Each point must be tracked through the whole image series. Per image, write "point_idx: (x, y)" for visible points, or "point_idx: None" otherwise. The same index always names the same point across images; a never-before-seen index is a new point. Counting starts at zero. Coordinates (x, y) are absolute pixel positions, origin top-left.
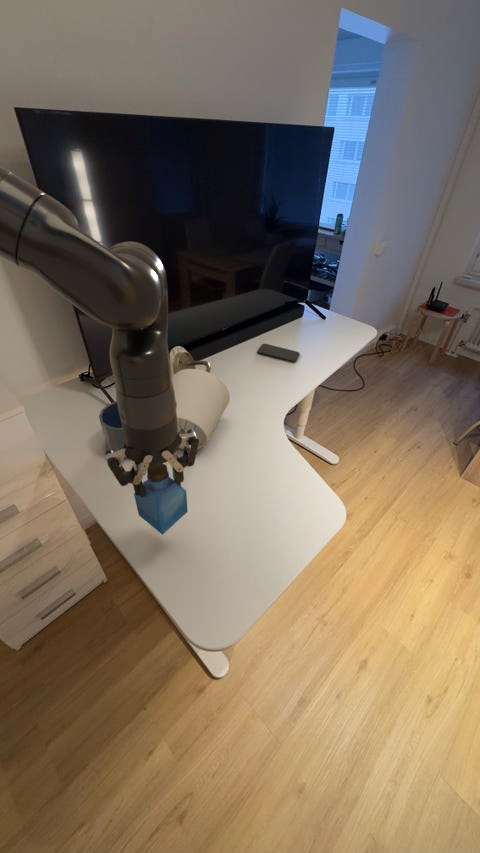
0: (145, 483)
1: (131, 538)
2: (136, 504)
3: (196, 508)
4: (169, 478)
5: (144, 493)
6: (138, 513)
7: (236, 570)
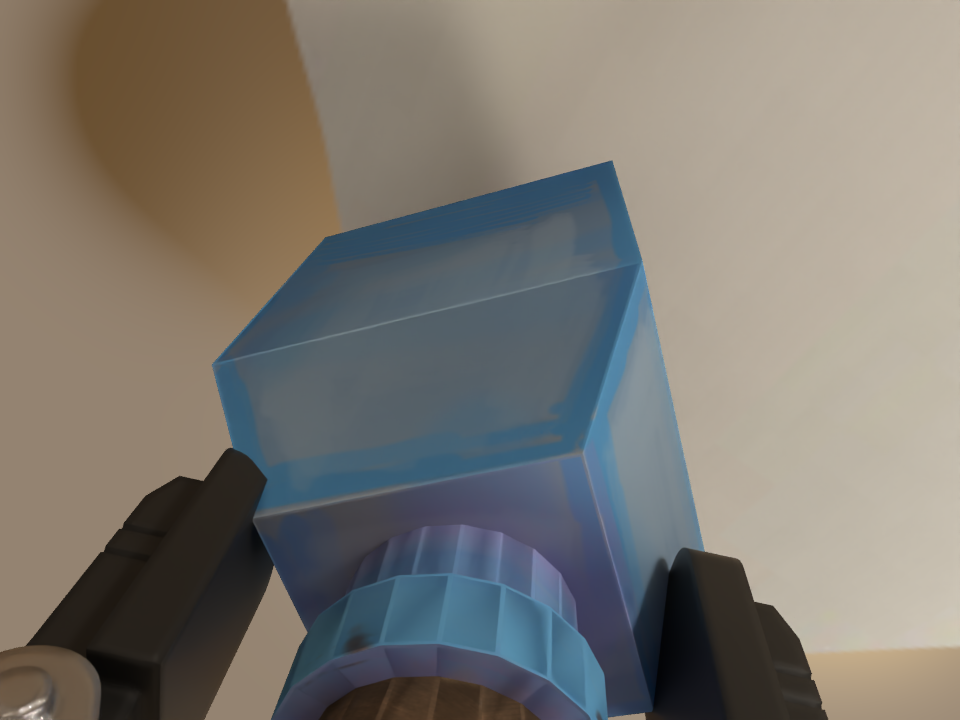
0: (302, 532)
1: (357, 34)
2: (277, 296)
3: (824, 77)
4: (615, 630)
5: (244, 630)
6: (318, 247)
7: (723, 510)
